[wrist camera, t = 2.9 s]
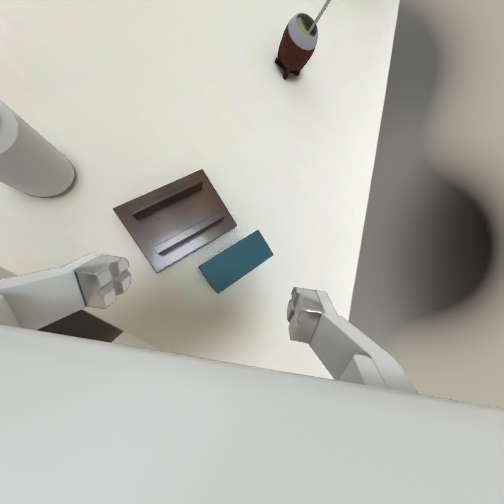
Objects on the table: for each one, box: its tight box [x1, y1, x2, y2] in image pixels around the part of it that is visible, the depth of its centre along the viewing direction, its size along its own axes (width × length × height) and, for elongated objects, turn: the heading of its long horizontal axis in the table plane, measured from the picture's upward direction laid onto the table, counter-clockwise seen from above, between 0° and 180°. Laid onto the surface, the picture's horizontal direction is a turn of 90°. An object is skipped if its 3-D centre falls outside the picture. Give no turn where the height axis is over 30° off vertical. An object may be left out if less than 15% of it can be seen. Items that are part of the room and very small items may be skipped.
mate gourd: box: [275, 0, 331, 79], centre depth 36 cm, size 8×8×15 cm
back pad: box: [199, 230, 273, 293], centre depth 30 cm, size 10×4×9 cm, turn 124°
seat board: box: [113, 169, 237, 273], centre depth 31 cm, size 16×12×4 cm
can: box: [0, 101, 74, 197], centre depth 22 cm, size 8×8×12 cm
